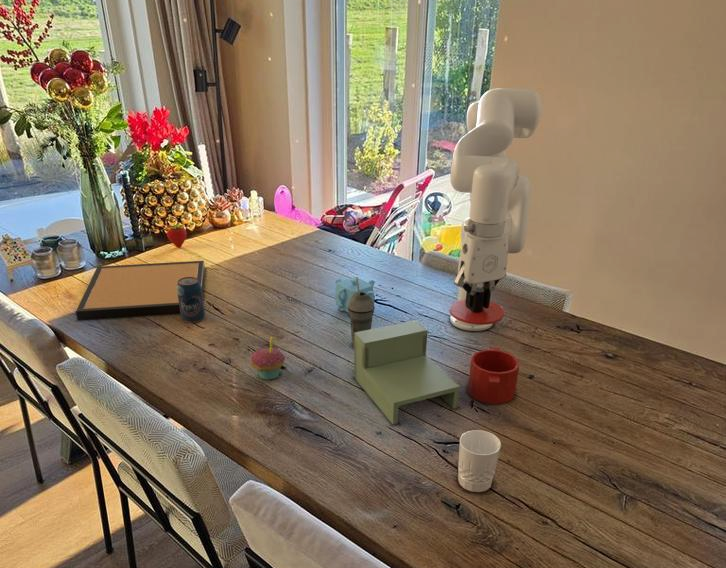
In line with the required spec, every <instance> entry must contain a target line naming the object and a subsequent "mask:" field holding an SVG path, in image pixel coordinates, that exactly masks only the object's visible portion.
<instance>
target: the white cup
mask: <svg viewBox="0 0 726 568" xmlns="http://www.w3.org/2000/svg"><path fill="white" fill-rule="evenodd" d="M501 447H502V443H501V440H500V439H499V437H498V436H496V435H495V434H494V433H492V432H489V431H486V430H481V429H474V430H468V431H466V432H464V433H462V435H461V436H460V437H459V448H458V463H457V465H458V466H457V469H458V474H457V481H458V483H459V486H461V487H462V488H463V489H464V490H467V491H469V492H472V493H482V492H486V491H488V490H489V489H490V488H491V487H492V485H493V480H494V476H495V474H496V470H497V466H498V461H499V458H500V457H499V456H500V452H501Z"/></svg>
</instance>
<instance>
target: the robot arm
mask: <svg viewBox="0 0 726 568" xmlns="http://www.w3.org/2000/svg"><path fill="white" fill-rule="evenodd" d="M542 109H543V104H542V98H541V96H540V94H539V93H538V92H537V91H536V90H534V89H531V88H508V87H507V88H506V87H505V88H504V87H503V88H502V87H500V88H499V87H498V88H492V89H489V90H487V91H486V92H484V93H483V94H482V96H481V97H480V99H479V101H474V102H473V103H471V104H470V105H469V106H468V108H467V111H466V126H467V127H466V129H467V133H466V134H464V135H463V136H462V137H461V138H460V139H459V141H458V142H457V143H456V145H455V147H454V149H453V153H452V160H451V167H450V177H449V178H450V185H451V187H452V189H454V190H455V191H456V192H459V193H466V194H468V193H469V203H470V208H469V216H468V217H467V218H465V219H464V220H463V221H462V223H461V226H460V245H461V246H460V247H461V249H460V253H459V258H458V267H457V275H456V277H455V279H454V281H453V284H454V285H455V286H457V287H458V290H457V291H458V292H457V300H456V302H457V301H460V300H465V299H466V301H465V304H466V307H467V308H468V309H470V310H471V311H475V310H476V304H477V295H476V294H475V293H476V288H477V287H481V288H484V289H485V290H486V292H485V300H484V308H486V309H487V308H489V303H490V302H492V294H493V292H494V290H495V287H496V286H497V285H498V283H499V282H500V281H501V280H503V279H504V278H505V277H506V276H507V271H508V263H509V262H508V261H509V254H518V253H521V251H523V250H524V247H525V244H526V238H527V230H528V223H529V215H530V214H529V213H530V205H531V194H532V188H531V183H530V180H529V178H528V177H526V176H525V175H520V167H519V166H518V163H517V161H516V160H515V159H513V158H511V157H507V154H506V150H508V148H509V147H510V145H511V144H512V142H513V140H514V139H528V138H530V137H532V136H533V135H534V134H535V131H536V129H537V128H538V125H539V124H540V121H541V117H542ZM507 213H509V214H510V215H511V217H510V216H509V217H508V216H507ZM500 306H501V305H500ZM501 307H502V308H503V306H501ZM449 320H450V323H451V324H452V325H453V326H454V327H456V328H458V329H460V330H464V331H469V332H482V331H486V330H489V329H491V328H492V326H493V325H494V323H492V324H486V325H476V324H469V323H465V322H462V321H459V320H457V319H455V318H454V317H453V316H452V315H451V314H450V319H449Z"/></svg>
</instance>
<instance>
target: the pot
mask: <svg viewBox="0 0 726 568" xmlns="http://www.w3.org/2000/svg"><path fill="white" fill-rule="evenodd" d="M519 372H520V360H519V359H518V357H516V355H513V354H511V353H510V352H507V351H504V350H501V347H499V346H498V347H497V346H490V347H489V349H482V350H479V351H475V352H474V353H473V354H472V355H471V357H470V366H469V372H468V373H469V374H468V381H467V392H468V394H469V395H470V396H471V397H472V398H473V399H475V400H476V401H479V402H482V403H486V404H490V405H491V404H492V405H494V404H495V405H497V404H504V403H508V402H510V401H512V400H513V398H514V397H515V395H516V390H517V383H518V379H519V378H518V377H519Z"/></svg>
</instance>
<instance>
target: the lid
mask: <svg viewBox="0 0 726 568" xmlns="http://www.w3.org/2000/svg"><path fill="white" fill-rule="evenodd" d="M485 292H486V290H485V289H484V288H481V287H477V288H476V293H475V294H476V295H477V304H476V310H475V311H471V310H470V309H468V308H467V307H466V304H465V301H466V299H465V300H460V301H457V300H456V301H454V302H453V303H452V304H451V305H450V306H449V314H450V316H451V315H452V316H453V317H454V318H455V319H457V320H459V321H462V322H465V323H469V324H476V325H486V324H492V323H493V324H496V323H498V322H500V321H501V320H502V319H503V318H504V317H505V310H504V308H503V306H502V307H501V305H499V304H497V303H496V302H493V301H491V302H490V303H489V308H487V309H486V308H484V300H485Z"/></svg>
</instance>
